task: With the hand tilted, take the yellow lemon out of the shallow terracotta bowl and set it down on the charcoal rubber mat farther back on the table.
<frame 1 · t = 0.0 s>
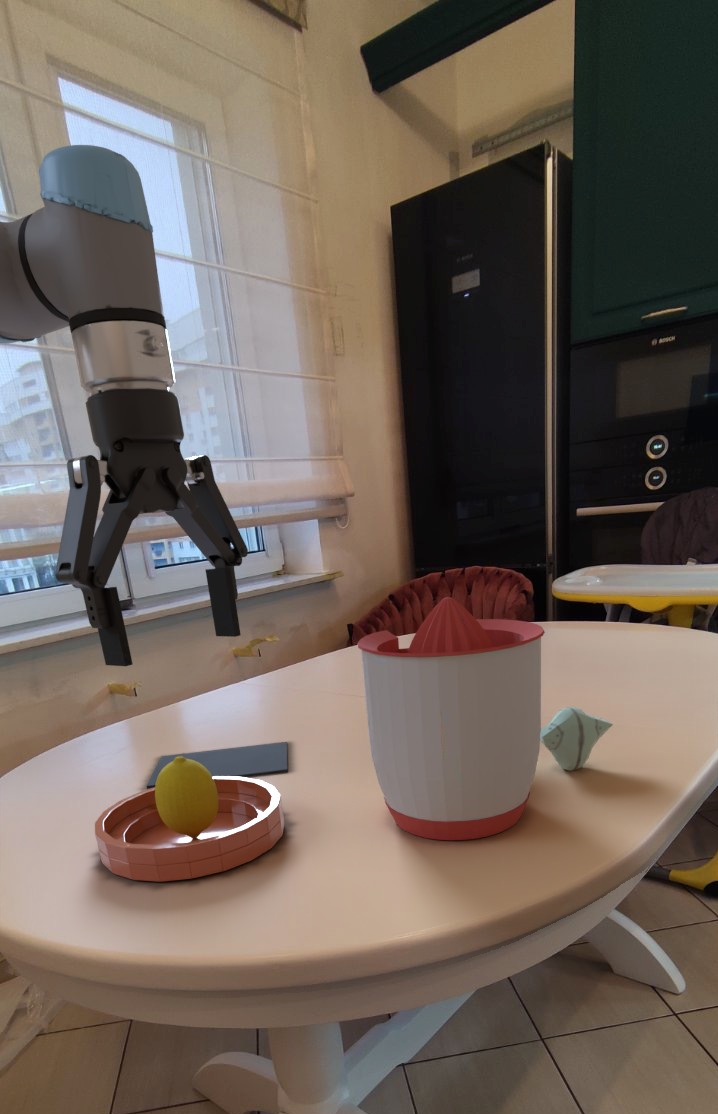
hand: (177, 649, 68), 17 cm above the table, tool pointing down, fingers open, 13 cm apart
bowl: (195, 842, 67), on the table
mat: (221, 767, 88), on the table
pale green angular piece: (570, 772, 76), on the table
lemon: (195, 839, 67), resting on bowl
citrus juicer: (452, 816, 68), on the table
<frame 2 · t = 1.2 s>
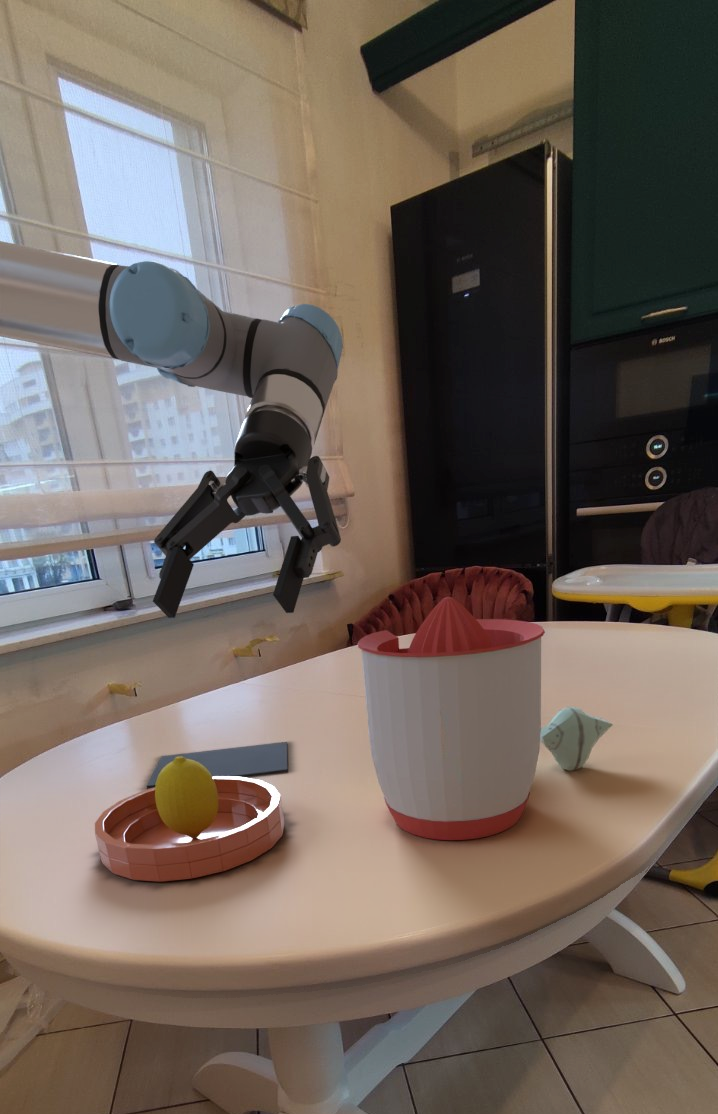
hand: (220, 607, 68), 20 cm above the table, tool tilted 45°, fingers open, 13 cm apart
nothing on the table moved.
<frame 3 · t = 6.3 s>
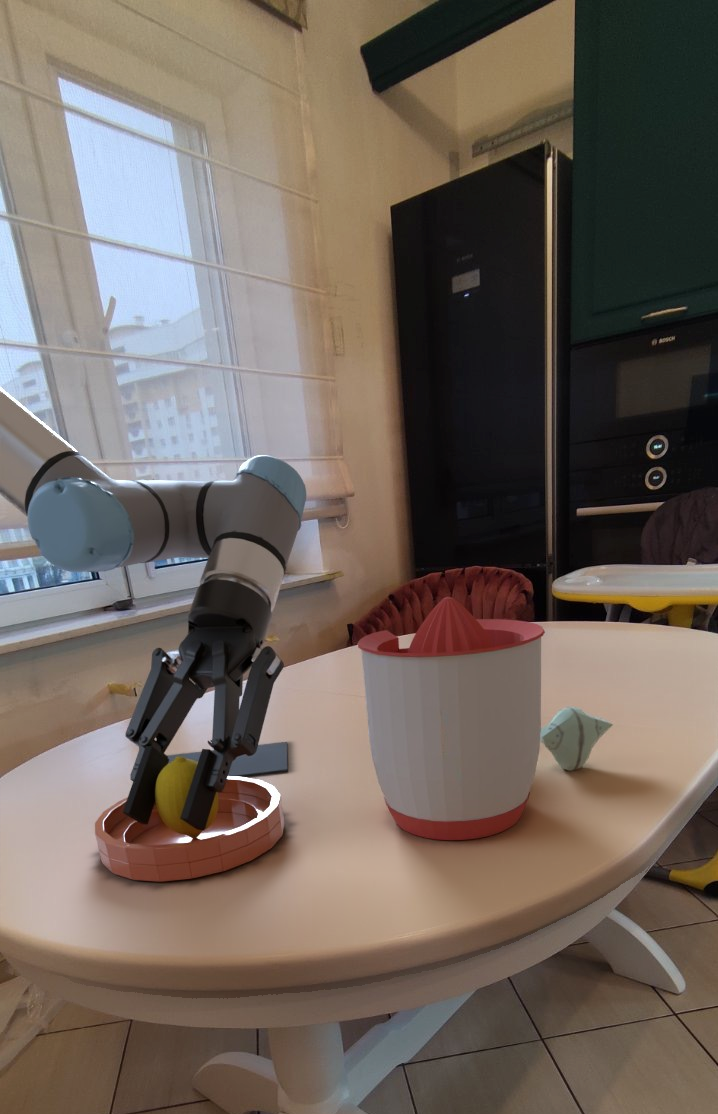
hand: (163, 821, 63), 4 cm above the table, tool tilted 45°, fingers closed on lemon, 5 cm apart
lemon: (195, 839, 67), resting on bowl, touching gripper
everything else where it was.
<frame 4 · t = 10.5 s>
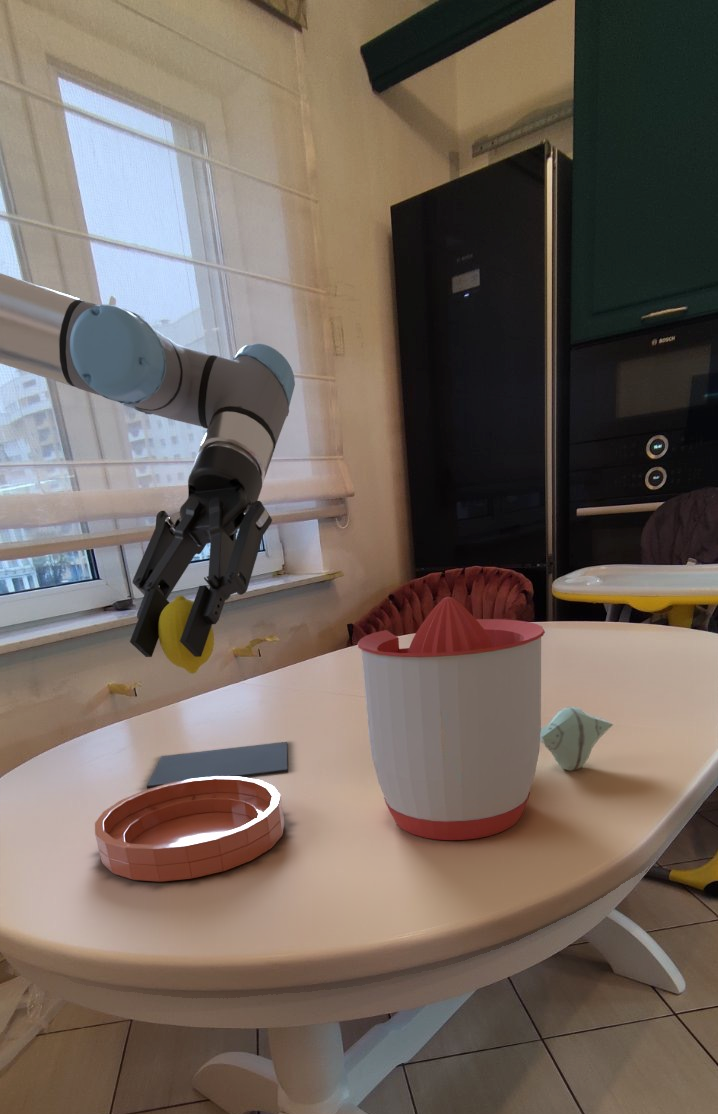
hand: (165, 648, 72), 16 cm above the table, tool tilted 45°, fingers closed on lemon, 5 cm apart
lemon: (193, 675, 76), point 13 cm above the table, touching gripper
everything else where it was.
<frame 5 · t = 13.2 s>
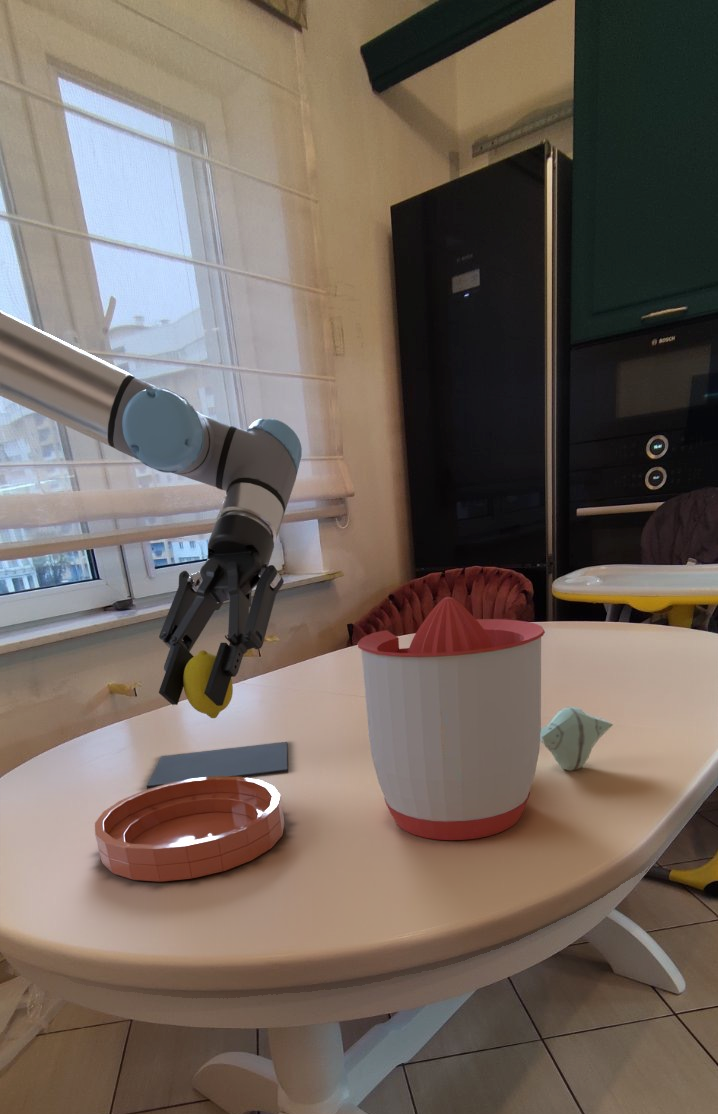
hand: (190, 698, 81), 9 cm above the table, tool tilted 45°, fingers closed on lemon, 5 cm apart
lemon: (214, 719, 85), point 6 cm above the table, touching gripper
everything else where it was.
when the fingers open (4 cm above the table, at t = 15.1 s): lemon stays where it is, resting on mat.
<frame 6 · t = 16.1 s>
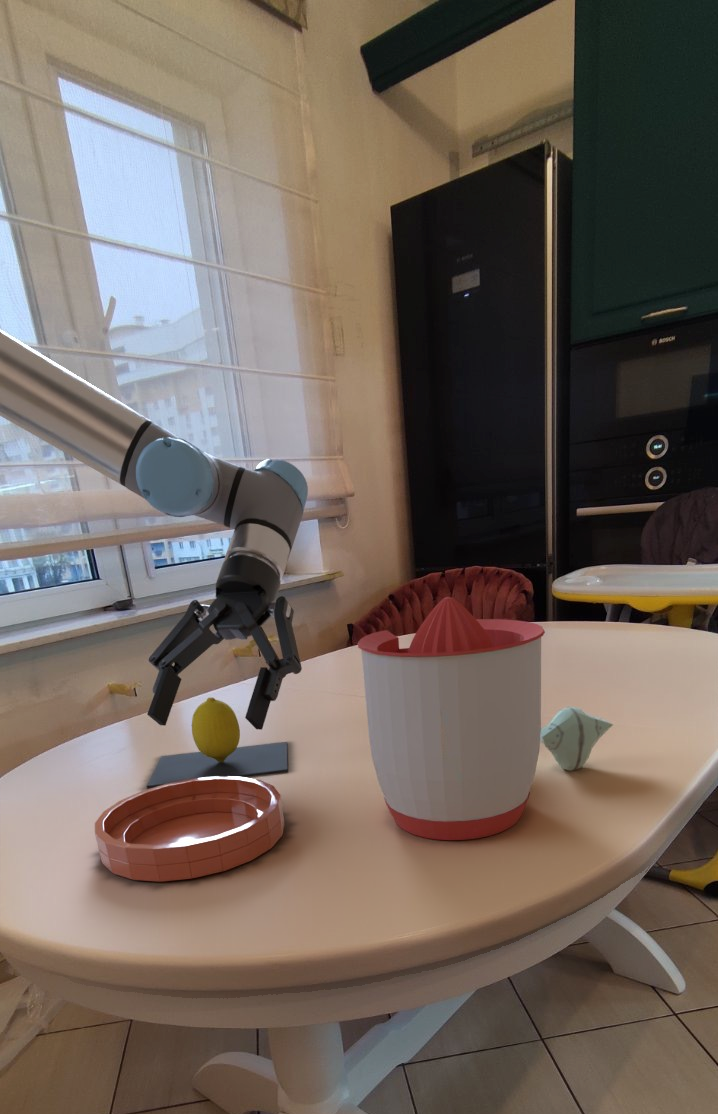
hand: (203, 722, 84), 6 cm above the table, tool tilted 45°, fingers open, 13 cm apart
lemon: (221, 763, 87), resting on mat
everything else where it was.
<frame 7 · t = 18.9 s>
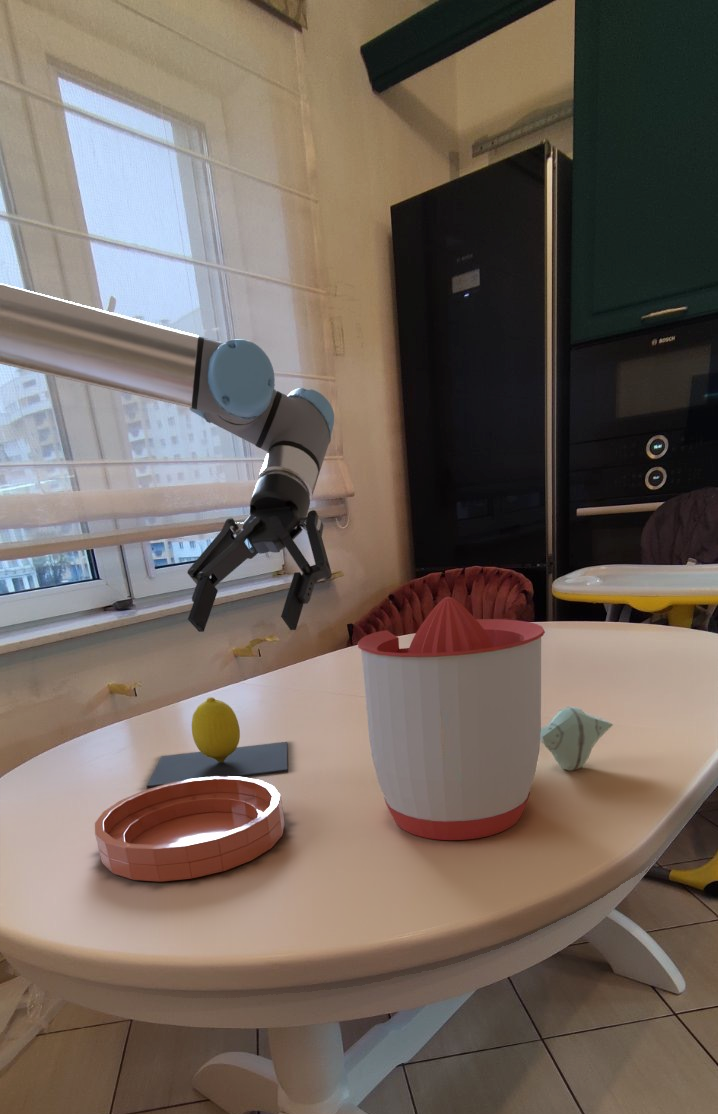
hand: (240, 624, 90), 15 cm above the table, tool tilted 45°, fingers open, 13 cm apart
nothing on the table moved.
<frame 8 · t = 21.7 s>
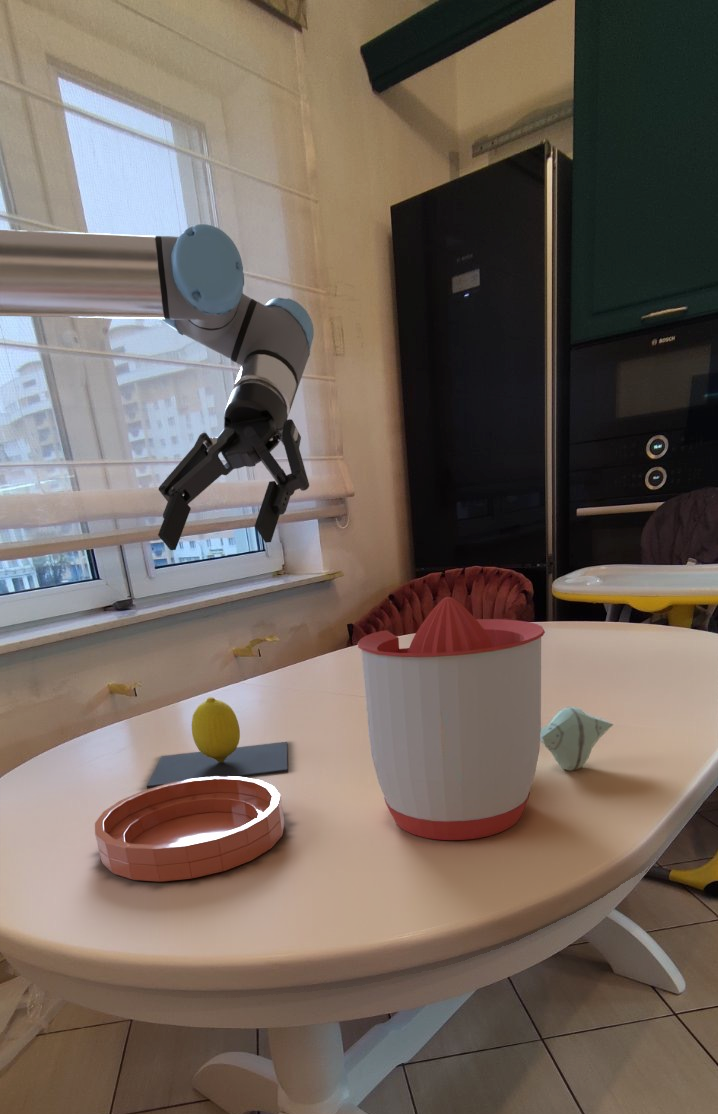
hand: (213, 538, 85), 26 cm above the table, tool tilted 45°, fingers open, 13 cm apart
nothing on the table moved.
at the end: lemon inside the target area on the mat (0.1 cm from its centre), point 0.4 cm above the mat's base; lemon touching mat; the gripper is holding nothing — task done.
